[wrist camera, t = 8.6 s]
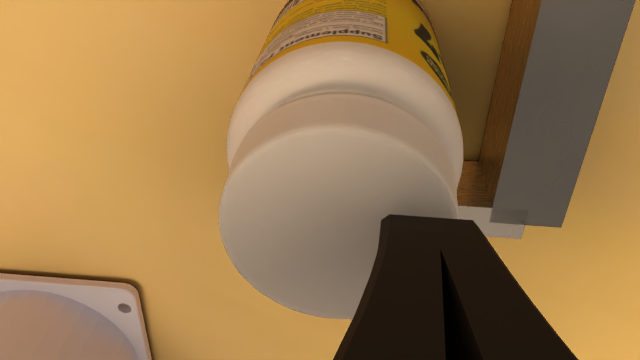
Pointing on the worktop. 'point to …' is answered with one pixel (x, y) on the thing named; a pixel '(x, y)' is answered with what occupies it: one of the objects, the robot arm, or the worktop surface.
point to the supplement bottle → (336, 149)
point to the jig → (541, 112)
